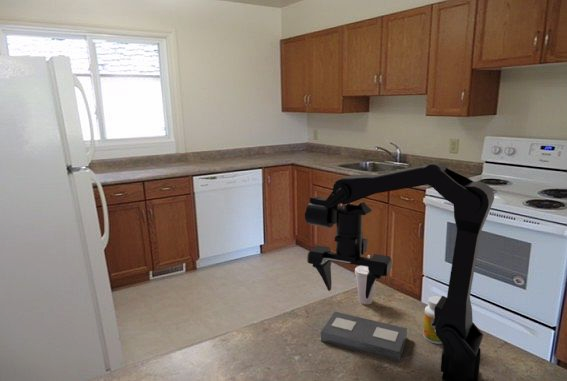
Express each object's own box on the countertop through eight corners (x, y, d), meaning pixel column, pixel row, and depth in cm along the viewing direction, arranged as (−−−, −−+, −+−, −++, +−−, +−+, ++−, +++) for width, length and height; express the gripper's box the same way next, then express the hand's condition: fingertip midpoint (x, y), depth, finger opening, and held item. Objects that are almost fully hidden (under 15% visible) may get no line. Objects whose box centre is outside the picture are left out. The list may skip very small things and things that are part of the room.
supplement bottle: (422, 329, 93) (425, 293, 91) (446, 333, 91) (449, 296, 89) (423, 342, 88) (425, 303, 86) (448, 346, 86) (451, 307, 84)
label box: (406, 337, 90) (407, 327, 89) (398, 362, 81) (399, 350, 80) (334, 320, 98) (335, 310, 97) (320, 340, 89) (320, 330, 88)
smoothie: (374, 308, 103) (376, 260, 100) (351, 304, 106) (352, 257, 103) (378, 298, 109) (380, 252, 106) (356, 294, 111) (357, 249, 109)
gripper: (397, 225, 89) (395, 287, 92) (323, 217, 97) (323, 274, 100) (387, 239, 79) (385, 308, 82) (306, 229, 87) (306, 291, 90)
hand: (348, 293), depth 89 cm, fingers open, 9 cm apart
